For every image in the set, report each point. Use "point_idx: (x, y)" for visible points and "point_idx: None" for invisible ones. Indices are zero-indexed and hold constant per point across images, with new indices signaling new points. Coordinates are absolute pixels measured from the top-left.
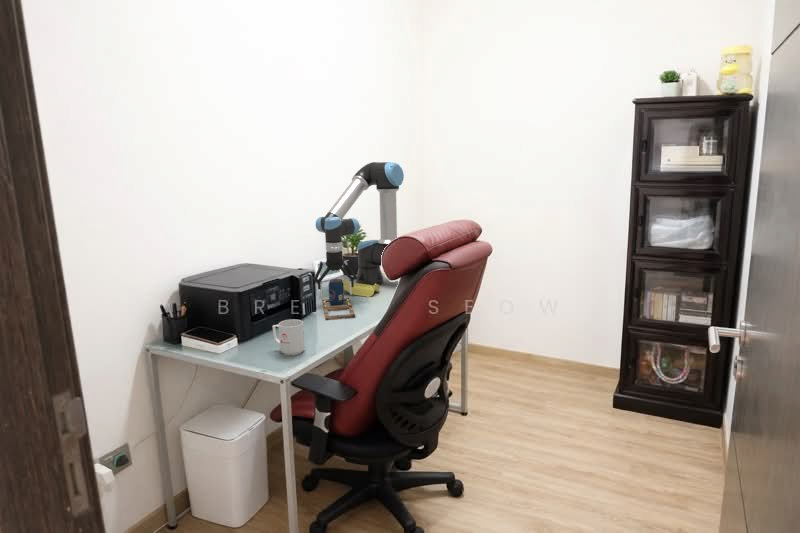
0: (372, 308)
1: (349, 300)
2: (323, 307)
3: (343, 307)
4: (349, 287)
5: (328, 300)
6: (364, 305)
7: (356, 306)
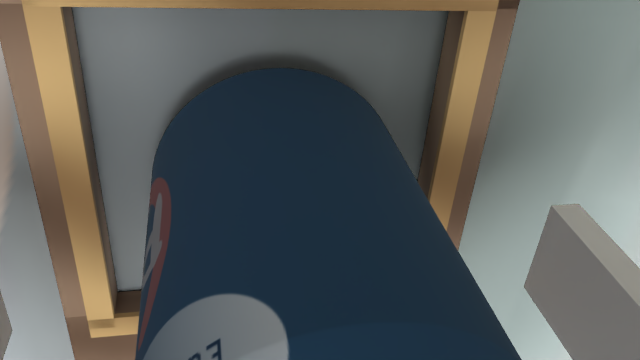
0: None
1: (491, 95)
2: (67, 317)
3: None
4: (612, 318)
5: (127, 6)
6: None
7: (498, 256)
